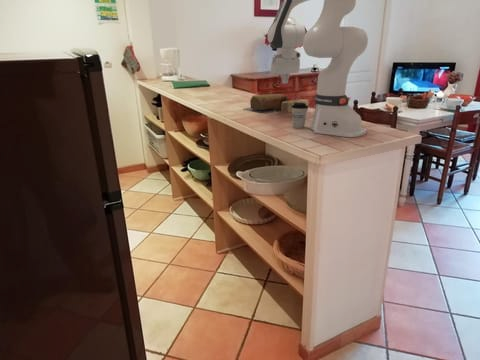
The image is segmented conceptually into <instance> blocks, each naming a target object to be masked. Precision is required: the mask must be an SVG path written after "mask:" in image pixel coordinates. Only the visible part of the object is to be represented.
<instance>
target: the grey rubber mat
mask: <svg viewBox="0 0 480 360" xmlns="http://www.w3.org/2000/svg"><path fill="white" fill-rule="evenodd" d="M242 109H243V111H251V112H256V113H264V114H269V113H273V112H274V113H275V112H278V111H281V109H277V110H254V109H252V108H251V106H249V107H246V108H242Z"/></svg>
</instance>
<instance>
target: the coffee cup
mask: <svg viewBox="0 0 480 360" xmlns="http://www.w3.org/2000/svg"><path fill="white" fill-rule="evenodd" d="M307 108H308V109H309V105H308V106H307V105H306V103H294V105H292V112H291V113H292V115H291V116H292V128H293V129H304V128H305V123H306V118H307V112H308V109H307Z"/></svg>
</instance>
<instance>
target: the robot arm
mask: <svg viewBox="0 0 480 360" xmlns="http://www.w3.org/2000/svg"><path fill="white" fill-rule="evenodd" d="M308 1H309V0H281V1H280V5H279V8H278V10H277V12H276V14H275V17H274V20H273V22H272V23H271V25H270V27H269V29H268V30H267V31H268V32H267V36H266V37H267V42H268V44H269V45H270V46H271V47H272V48H273V49H276V54H274V55H273V57H272V59H271V64H270V71H269V72H270V75H272V76H279V75H280V79H281V84H288V83H289V78H290V75H291V74H298V73H299V71H300V69H301V68H300V66H301V60H300V58H301V53H300V52H299V51H297V50H296V48H299V47H303V50H304V52H305V54H306V55H307V56H308V57H313V58H317V59H328V58H329V59H330V58H331V60H330V62H329V63H328V65H327V67H325V68H324V69H322V70H321V71H320V72H319V73H318V76H317V86H316V93H315V98H314V114H313V118H312V121H311V124H310V128H309V129H310V130H312V132H313V133H315V134H321V135H322V134H323V135H328V136H335V137H336V136H337V137H344V138H357V137H361V136H363V135H365V134H367V133H368V131H367V129H366V128H363V127H362V117H361V115H360V114H358V113H357V111H356V110H354V109H353V108H352V107H351V105H349V101H351V98H352V97H351V96H349V97H348V96H347V95H346V89H347V82H348V76H349V72H350V70H351V69H352V66H353V65H354V62H355V61H356V60H357V58H358V57H359V56H361V55H362V54H363V53H364V52H365V50H366V49H367V47H368V43H369V41H368V40H369V38H368V35H367V31H365V30H364V29H363V28H359V27H355V26H341V23H342V20H343V18H344V17H345V16H347V15H349V14H350V13H351V12H353V10H354V9H355V7H356V2H357V0H323V7H322V9H321V10H322V11H321V13H320V15H319V17H318V18H317V21H316V22H315V23H314V24H313V26H312V27H310V29H307V28H306V26H305V25H303V24H300V23H298V22H297V21H296V19H295V18H294V17H290V14H291V12H292V10H293V9H294V8H295V7H297V6H299V5H300V4H303V3H305V2H308Z"/></svg>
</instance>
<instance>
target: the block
mask: <svg viewBox="0 0 480 360" xmlns="http://www.w3.org/2000/svg"><path fill="white" fill-rule="evenodd" d="M249 101H250V102H249V104H250V107H251V108H252V109H254V110H277V109H281V106H282V102H286V101H289V98H288V95H286V94H282V93H269V94H268V93H267V94H266V93H265V94H254V95H252V96H251V98H250V99H249Z"/></svg>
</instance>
